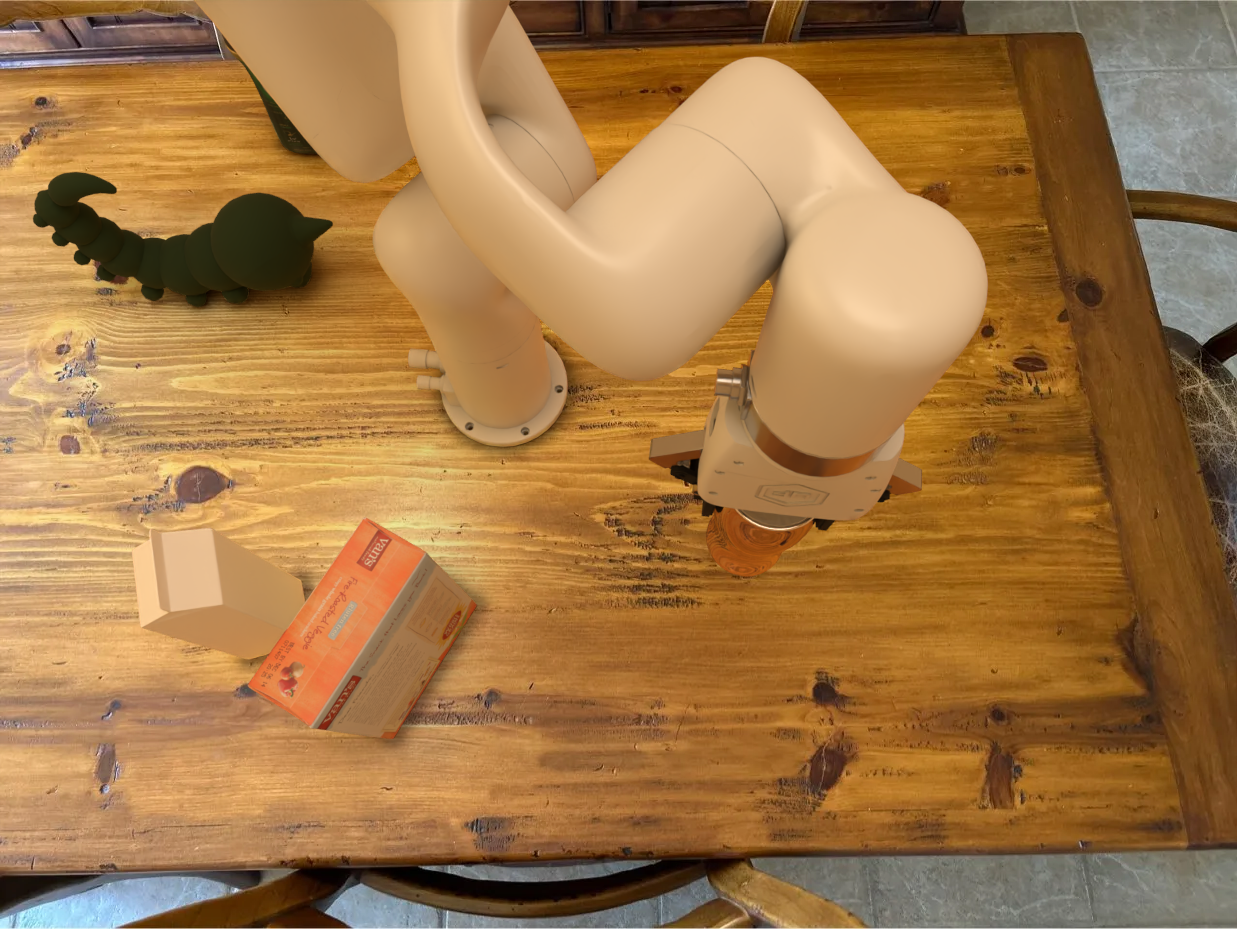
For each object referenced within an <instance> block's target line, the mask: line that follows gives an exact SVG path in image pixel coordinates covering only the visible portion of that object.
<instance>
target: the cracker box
mask: <svg viewBox="0 0 1237 929" xmlns="http://www.w3.org/2000/svg"><path fill="white" fill-rule="evenodd" d="M477 606H478V604H477V603H476V602H475V600H474V599H473V598H471V596H470V595H468V593H467V592H466V591H465V590H464V589H463V588H462V587H461V586H460V585H459V584H458V583H457V582H456V581H455V580H454V579H453V578H452V577H451V576H450V575H449V574H448V573H447V572H446V571H445V570H444V569H443V568H442V567H441V565H439V564H438V563H437V561H435V560H434V559H433V558H432V557H431V555H430V554H429V553H427V551H426V550H424V549H422V548H420V547H419V546H417V545H415V544H413V543H412V542H411V541H408V540H407V539H406V538H405V539H404V538H403V537H401V536H399V535H398V534H396V533H394V532H393V531H391V530H389V529H388V528H386V527H384V526H382V525H381V524H379V523H378V522H375V521H373V520H371V519H370V518H368V517H366V516H363V517H362V519H361V520H360V522H359V523H358V525H357V526H356V528H355V529H354V530H353V532H352V533H351V535H350V536H349V537H348V538H347V541H346V542H345V543H344V545H343V546H342V548H341V550H340V551H339V552H338V554H337V555H336V557H334V560H333V561H332V563H331V564H330V566H329V567H328V569H327V570H326V572H324V575H323V576H322V577H321V578H320V580H319V582H318V583H317V585H316V586H315V587H314V588H313V590H312V592H311V593H310V594H309V596H308V598H307V599H306V600H305V603H304V605H303V606H302V608H301V609H300V611H299V612H298V614H297V615H296V617H295V618H294V620H293V621H292V622H291V624H290V625H289V627H288V628H287V629H286V631H285V632H284V633H283V635H282V636H281V638H280V639H279V640H278V642H277V643H276V645H275V646H274V648H273V649H272V650H271V652H270V653H269V654H267V655H266V657H265V659H264V660H263V662H262V663H261V665H260V666H259V668H257V671H255V673H254V675H253V677H252V678H251V679H250V680H249V682H248V684H247V687H248V688H249V689H251V691H254V692H255V693H257V694H258V695H260V696H261V697H263V698H265V699H266V700H267V701H270V703H273V704H274V705H276V706H277V707H279V708H280V709H282V710H284V711H285V712H287V713H288V714H290V715H292V716H293V717H295V718H296V719H298V720H299V721H301V722H302V723H304V725H305V724H306V725H307V726H308V727H309V729H313V730H321V731H328V732H334V733H341V734H348V735H354V736H361V737H370V738H371V737H372V738H378V739H379V738H380V739H387V740H393V739H394V738H395V737H396V735H397V734H398V732H399V731H400V729H401V727H402V726H403V724H404V722H405V721H406V719H407V718H408V717H409V715H410V713H411V712H412V710H413V708H414V707H415V705H416V704H417V702H418V700H419V699H420V698H421V696H422V694H423V693H424V691H425V689H426V687H427V686H428V684H429V682H430V681H431V680H432V678H433V676H434V675H435V673H436V671H437V670H438V669H439V667H440V665H441V663H442V662H443V660H444V659H445V657H446V656H447V654H448V653H449V651H450V649H451V648H452V646H453V645H454V643H455V641H456V639H457V638H458V636H459V635H460V633H461V632H462V630H463V629H464V627H465V626H466V624H467V622H468V620H469V619H470V617H471V615H472V614H473V613H474V611H475V609H476V607H477Z"/></svg>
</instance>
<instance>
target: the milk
mask: <svg viewBox="0 0 1237 929" xmlns="http://www.w3.org/2000/svg"><path fill="white" fill-rule="evenodd" d="M148 536H149V539H147V540H146V541H143V542H142V543H140V544H139V545H137V546H136V547H135V548H134V547H133V549H132V550H131V557H132V567H133V575H134V584H135V591H136V592H135V594H136V601H137V609H138V610H137V611H138V620H139V627H140V628H141V629H143V630H146V631H150V632H153V633H157V634H161V635H164V636H167V637H169V638H172V639H173V638H174V639H177V640H181V641H184V642H187V643H191V644H194V645H198V646H201V647H204V648H206V649H207V648H208V649H210V650H214V651H216V652H217V651H218V652H221V653H224V654H227V655H231V656H234V657H238V658H241V659H244V660H247V661H249V660H253V659H257V658H260V657H263V656H268V655H269V653H270V652H271V650H272V649H273V648H274V646H275V645H276V643H277V642H278V640H279V639H280V638H281V636H282V635H283V633H284V632H285V631H286V629H287V628H288V627H289V625H290V624H291V622H292V621H293V620H294V618H295V617H296V615H297V614H298V612H299V611H300V609H301V608H302V606H303V605H304V603H305V602H306V598H305V592H304V588H303V582H302V580H301V579H300V578H298V577H296V576H295V575H293V574H291V573H289V572H287V571H286V570H284V569H283V568H281V567H279V566H277V565H276V564H274V563H272V562H271V561H269V560H267V559H265V558H263V557H262V556H261V555H258V554H257V553H255V552H253V551H252V550H250V549H249V548H246V547H245V546H243V545H241V543H240V544H239V543H238V542H236V541H235V540H232V539H231V538H229V536H228V537H227V535H224V534H222V533H221V532H220V531H217V530H216V529H214V528H213V527H205V528H195V529H185V530H176V531H165V532H161V531H158V530H156V529H154V528H149V530H148Z"/></svg>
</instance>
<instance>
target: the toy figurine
mask: <svg viewBox="0 0 1237 929" xmlns="http://www.w3.org/2000/svg"><path fill="white" fill-rule="evenodd" d="M117 192H118V188H117V187H116V185H115V184H114V183H111V182H110V181H108V180H107V179H103V178H102V177H99V176H97V175H96V174H95V175H94V174H91V173H88V172H82V171H81V172H80V171H72V172H63V173H61V174H58V175H56V176H55V177H53V178H52V179H51V180H49V183H48V184H47V189H43V190H39V191H38V192H37V193H36V194H37V195H36V198H35V199H34V211H35V213H34V214H33V216H32V222H33V224H34V225H35V226H36V227H37V228H41V229H43V228H48V227H52V228H53V230H54V232H53V233H52V235H51V241H52V243H53V244H54V245H55V246H57V247H61V248H62V247H63V248H64V247H66V246H68V245H69V244H72V245H75V246H76V247H77V250H75V251H74V254H73V261H74V262H75V263H76V264H77V265H79V266H86V265H89V264H90V263H91V260H92V261H95V262H98V263H100V264H99V265H98V267H97V268H96V277H98V278H99V280H101V281H102V282H103V281H104V282H112V281H114V280H115V278H116V277H121V278H134V279H135V280H136V281H137V282H138V283H140V284H141V289H140V293H141V295H142V296H143V297H144V299H147V300H148V301H150V302H151V301H152V302H156V301H159V300H160V299H162V298H163V297H164V294H165V289H168V290H170V292H174V293H177V294H179V295H182V296H185V301H186V302H187V304H188V305H190V306H193V307H196V308H200V307H203V306H205V304H206V303H207V300H208V297H207V293H208V292H210V291H217V292H220V294H221V295H222V297H223V298H224V300H225V301H226V302H227V303H231V304H236V305H240V304H243V303H244V302H246V301H247V300H248V299H249V295H250V290H254V291H261V292H273V291H279V290H280V291H281V290H285V289H287V288H289V287H291V288H294V289H301V288H304V287H306V286H307V285H308V284H309V283H310V281H311V278H312V276H313V275H312V274H313V262H312V261H313V257H314V253H315V241H317V240H318V239H319V238H320V237H321V236H323V235H324V234H325V233H326V232H328V231H329V230H331V228H332V227H333V226H334V223H333V221H332V220H331V219H326V218H318V217H311V216H304V214H303V213H302V212H301V211H300V210H299V209H298V208H297V207H296V206H295V205H293V204H292V202H291V203H290V202H289V201H288V200H286V199H284V198H282V197H280V196H277V195H275V194H271V193H264V192H252V193H251V192H250V193H245V194H242V195H240V196H238V197H235V198H232V199H230V200H229V201H228V202H227V203H225V204H224V205H223V206H222V208H220V210H219V211H218V213H217V214H216V216H215V217H214V219H213V222H207V223H204V224H201V225H200V226H198V227H196V228H195V229H194V230H193V231H191V232H190V233H189V234H188V233H182V234H176V235H172V236H169V237H167V238H166V239H165V238H163V237H157V236H156V237H154V236H150V237H145V238H143V237H142V236H141V235H139V234H137V233H136V232H134V231H132V230H128V229H125V228H124V229H123V228H121V227H120V226H119V225H118V224H117V223H116V222H114V221H113V220H111V219H109V218H107V217H104V216H100V215H99V214H98V213H97V211H96V210H95V209H94V208H93V207H92V206H90V205H88V203H85V202H82V201H80V200H81V199H83V198H85V197H89V196H92V195H98V194H99V195H100V194H105V195H106V194H107V195H115V194H117Z"/></svg>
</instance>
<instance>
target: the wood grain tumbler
mask: <svg viewBox="0 0 1237 929" xmlns="http://www.w3.org/2000/svg"><path fill="white" fill-rule="evenodd" d="M816 520H817V518H809V517H800V516H791V515H782V514H774V513H765V512H757V511H749V510H741V509H734V508H727V507H721V506H717V505H716V507H715V509H714V512H713V515H711V518H710V520H709V522H708V524H707V526H706V532H705V533H706V534H705V542H706V546H707V550H708V552H709V555H710V556H711V558H712V560H713V561H714V562H715V563H716V564H717V565H718V567H720V568H721V569H723V570H724V571H726V572H728V573H730V574H732V575H735V576H739V577H755V576H758V575H761V574H764V573H765V572H767V571H770V569H772V568H773V567H774V566H775V565H776V564H777V563H778V561H779V559H780V558H781V556H782V554H783V553H784V552H785V551H787V550H789V549H791V548H793V547H795V546H796V545H797V544H798V543H799V542H801V541H802V540H803V539H804V538H805V537H806V535H808V533H809V532H810V531H811V529H812V528H813V527H814V525H815V522H816Z"/></svg>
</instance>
